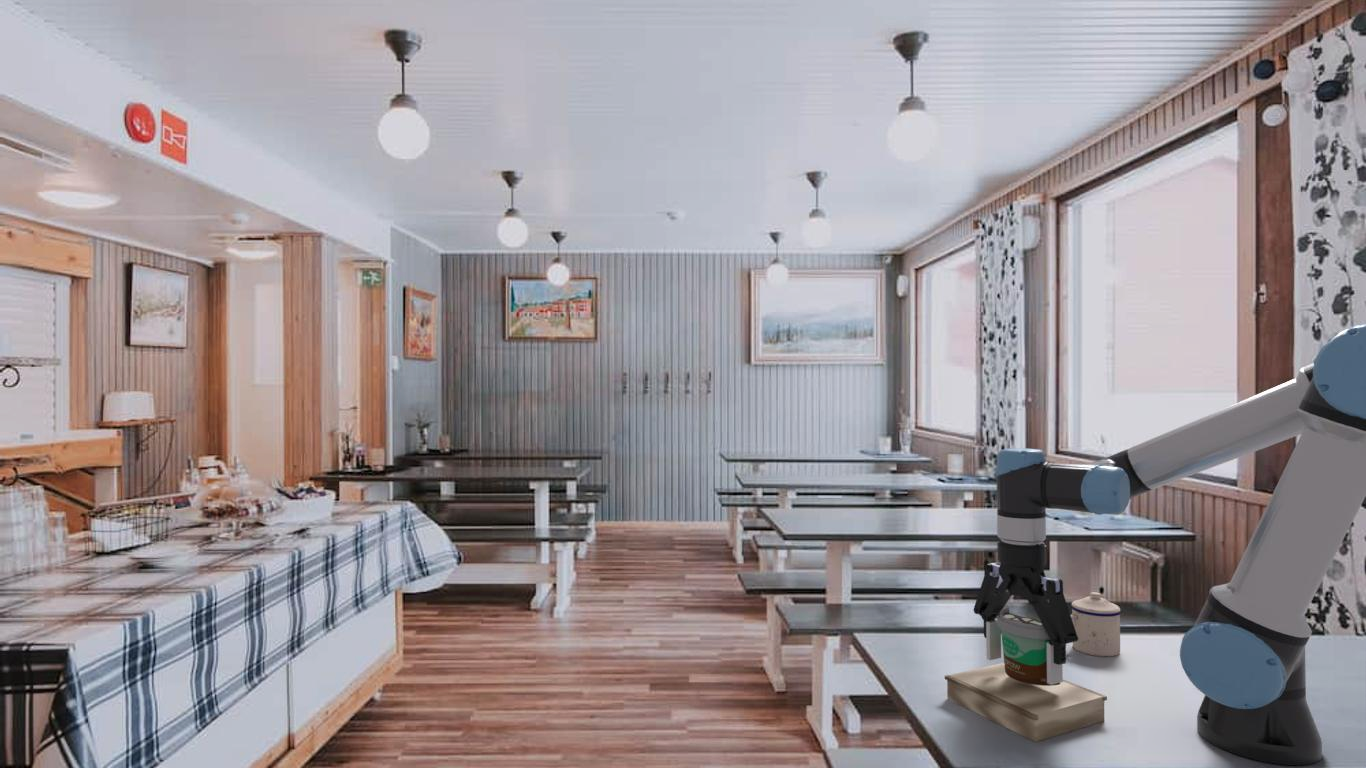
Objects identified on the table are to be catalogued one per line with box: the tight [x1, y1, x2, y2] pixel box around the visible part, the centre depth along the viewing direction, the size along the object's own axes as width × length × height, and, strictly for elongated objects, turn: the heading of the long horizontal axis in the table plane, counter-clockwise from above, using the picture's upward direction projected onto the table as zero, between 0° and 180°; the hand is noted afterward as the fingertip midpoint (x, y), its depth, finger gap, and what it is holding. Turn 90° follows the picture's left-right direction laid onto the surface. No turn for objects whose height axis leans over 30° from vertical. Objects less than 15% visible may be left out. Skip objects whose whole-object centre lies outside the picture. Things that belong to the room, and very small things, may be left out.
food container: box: [996, 607, 1060, 686], centre depth 127 cm, size 12×6×10 cm, turn 25°
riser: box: [944, 662, 1108, 743], centre depth 127 cm, size 18×17×4 cm
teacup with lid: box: [1070, 591, 1122, 657], centre depth 155 cm, size 12×9×12 cm
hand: (1023, 670), depth 127 cm, fingers open, 11 cm apart
